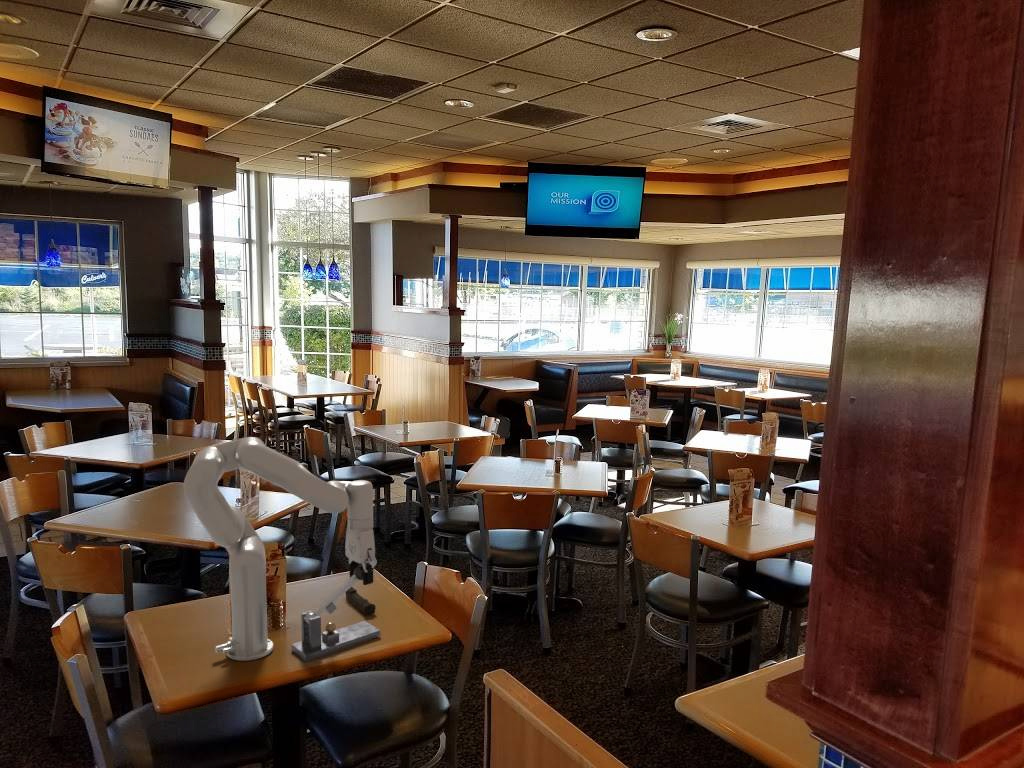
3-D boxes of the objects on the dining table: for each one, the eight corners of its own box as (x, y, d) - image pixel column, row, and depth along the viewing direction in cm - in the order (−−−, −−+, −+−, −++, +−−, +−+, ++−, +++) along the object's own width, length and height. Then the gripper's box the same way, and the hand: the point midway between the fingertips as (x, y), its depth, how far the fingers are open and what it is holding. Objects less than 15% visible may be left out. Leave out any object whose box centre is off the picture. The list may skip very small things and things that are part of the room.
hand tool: (376, 615, 236) (376, 601, 235) (364, 617, 234) (364, 603, 233) (354, 596, 251) (354, 582, 251) (343, 598, 249) (342, 585, 249)
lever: (315, 631, 207) (306, 619, 205) (307, 626, 211) (299, 614, 209) (374, 576, 219) (367, 564, 217) (367, 572, 223) (359, 560, 220)
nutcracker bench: (306, 661, 204) (305, 624, 203) (291, 650, 210) (290, 613, 209) (380, 636, 220) (379, 601, 219) (364, 626, 226) (364, 592, 225)
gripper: (334, 518, 221) (335, 575, 223) (364, 531, 208) (365, 591, 210) (356, 513, 226) (357, 569, 228) (387, 526, 213) (387, 585, 215)
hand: (361, 579), depth 219 cm, fingers open, 7 cm apart
